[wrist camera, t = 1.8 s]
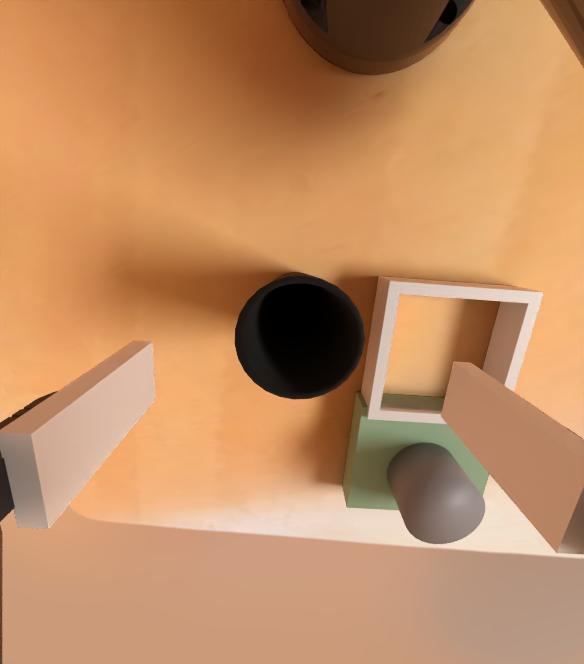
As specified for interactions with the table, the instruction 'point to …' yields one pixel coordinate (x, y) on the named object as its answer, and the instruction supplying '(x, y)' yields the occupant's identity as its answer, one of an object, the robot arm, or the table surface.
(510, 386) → the multicoloured boxy piece
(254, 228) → the table surface
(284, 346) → the cup
